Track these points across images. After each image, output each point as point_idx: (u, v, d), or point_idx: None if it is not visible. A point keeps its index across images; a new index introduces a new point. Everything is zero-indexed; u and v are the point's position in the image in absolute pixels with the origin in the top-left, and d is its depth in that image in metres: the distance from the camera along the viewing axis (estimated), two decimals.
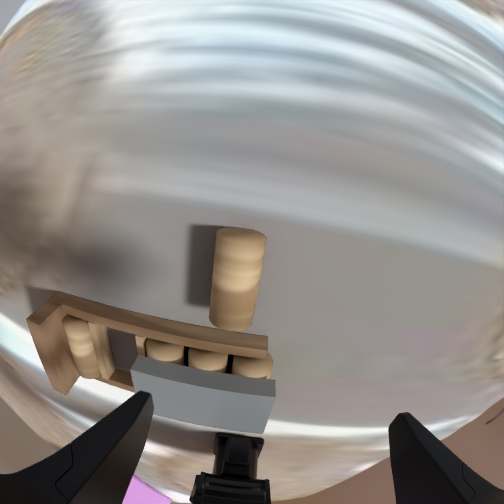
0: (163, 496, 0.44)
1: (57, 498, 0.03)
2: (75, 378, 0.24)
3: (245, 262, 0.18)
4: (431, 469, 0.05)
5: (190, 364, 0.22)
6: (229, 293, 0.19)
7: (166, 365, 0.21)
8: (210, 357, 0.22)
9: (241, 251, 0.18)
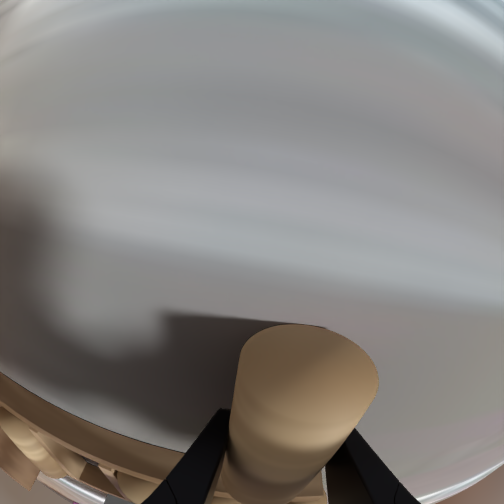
0: None
1: None
2: (37, 470, 0.11)
3: (322, 450, 0.05)
4: (358, 486, 0.05)
5: None
6: (270, 484, 0.06)
7: None
8: None
9: (318, 436, 0.05)
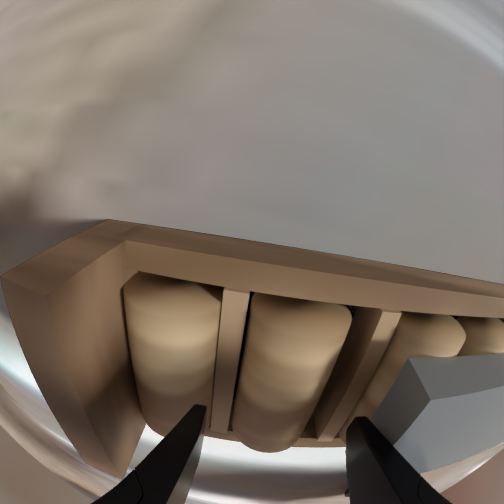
0: None
1: None
2: (138, 436, 0.10)
3: (294, 370, 0.08)
4: (382, 481, 0.05)
5: (474, 352, 0.08)
6: (259, 408, 0.09)
7: (467, 363, 0.07)
8: (497, 330, 0.08)
9: (288, 350, 0.08)
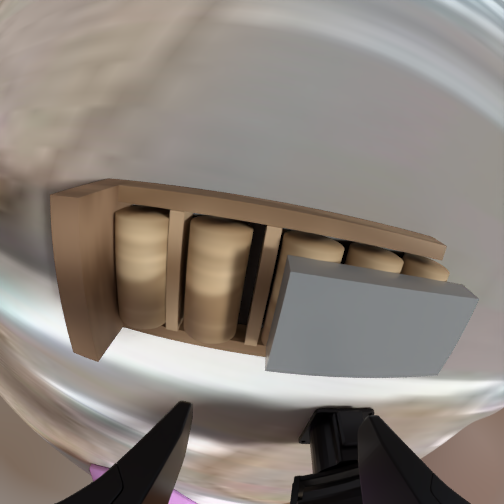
0: (192, 503, 0.37)
1: None
2: (114, 333, 0.16)
3: (216, 258, 0.14)
4: (396, 478, 0.05)
5: None
6: (198, 295, 0.15)
7: (342, 267, 0.13)
8: (385, 258, 0.15)
9: (211, 244, 0.14)
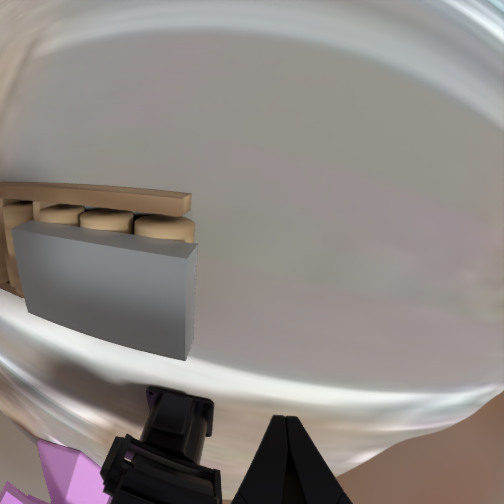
0: None
1: None
2: None
3: (9, 228, 0.14)
4: (297, 490, 0.05)
5: None
6: (9, 256, 0.15)
7: (53, 225, 0.13)
8: (105, 217, 0.14)
9: (6, 218, 0.14)
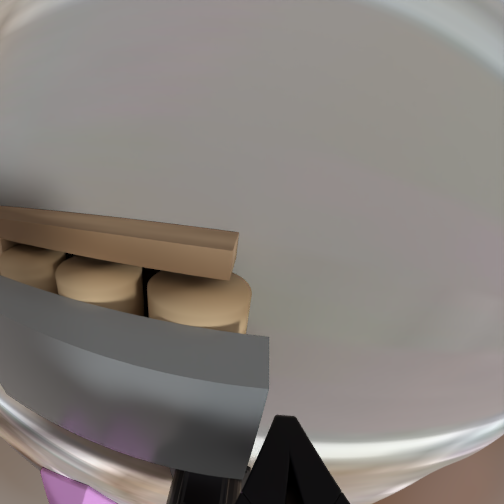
0: None
1: None
2: None
3: None
4: (294, 490, 0.05)
5: None
6: None
7: (15, 288, 0.07)
8: (96, 276, 0.08)
9: None
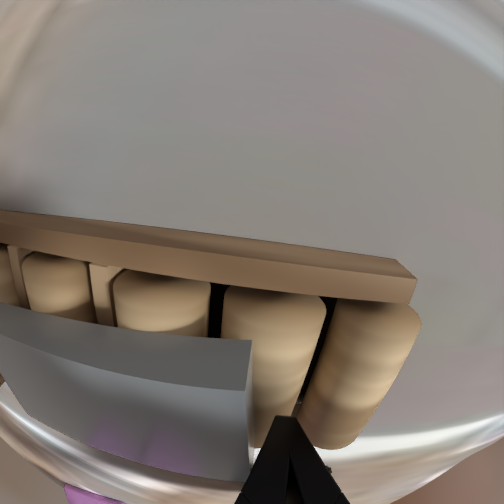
0: None
1: None
2: None
3: (40, 307, 0.08)
4: (294, 490, 0.05)
5: (230, 334, 0.09)
6: None
7: (24, 314, 0.08)
8: (286, 311, 0.09)
9: (31, 289, 0.08)
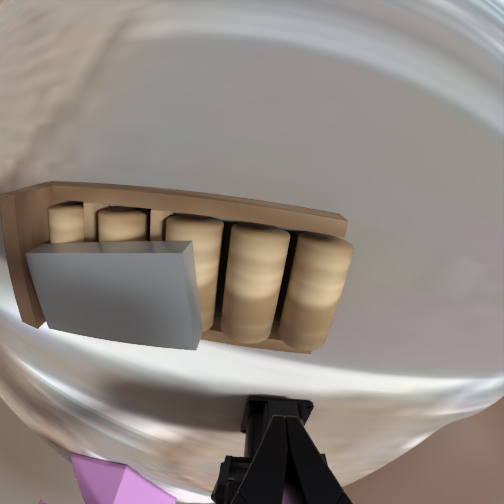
0: (167, 495, 0.37)
1: None
2: None
3: (112, 239, 0.15)
4: (297, 490, 0.05)
5: (234, 246, 0.16)
6: None
7: (63, 245, 0.15)
8: (266, 234, 0.16)
9: (107, 227, 0.15)
